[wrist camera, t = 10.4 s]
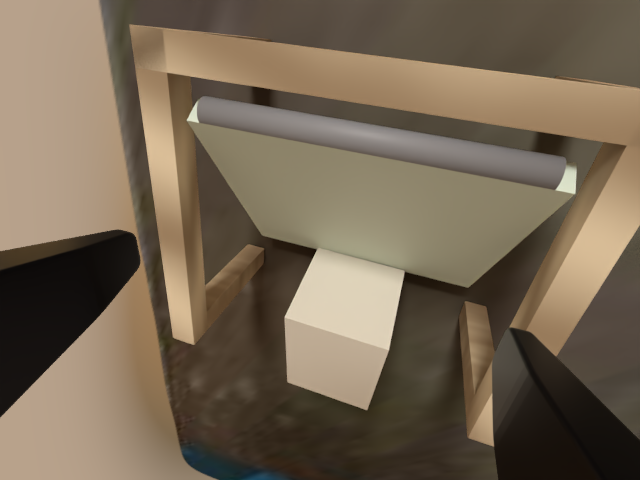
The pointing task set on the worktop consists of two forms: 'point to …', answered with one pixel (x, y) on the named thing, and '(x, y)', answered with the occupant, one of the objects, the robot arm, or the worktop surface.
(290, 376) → the stone block
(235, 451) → the worktop surface
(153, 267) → the worktop surface
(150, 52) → the frame
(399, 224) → the trapdoor
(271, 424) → the worktop surface
